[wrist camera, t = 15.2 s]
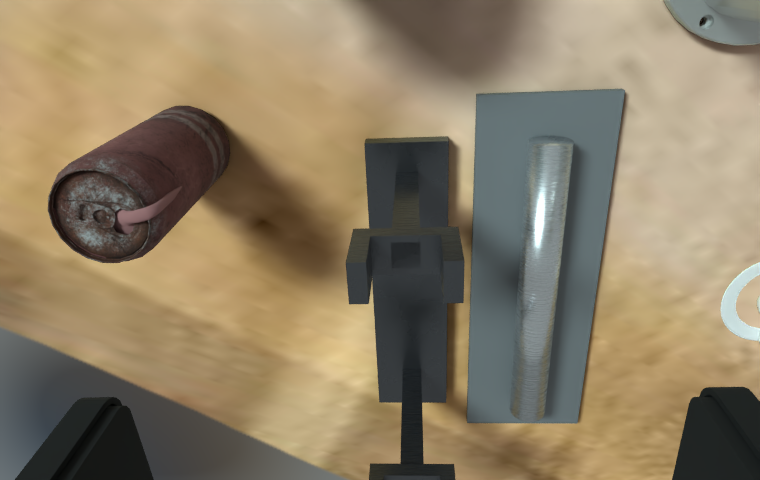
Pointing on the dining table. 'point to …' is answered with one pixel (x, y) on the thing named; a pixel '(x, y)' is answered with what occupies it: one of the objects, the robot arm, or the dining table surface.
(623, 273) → the dining table surface
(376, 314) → the hook stands
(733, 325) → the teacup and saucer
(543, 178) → the steel rail
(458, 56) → the dining table surface
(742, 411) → the robot arm
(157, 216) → the can
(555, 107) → the rubber mat
